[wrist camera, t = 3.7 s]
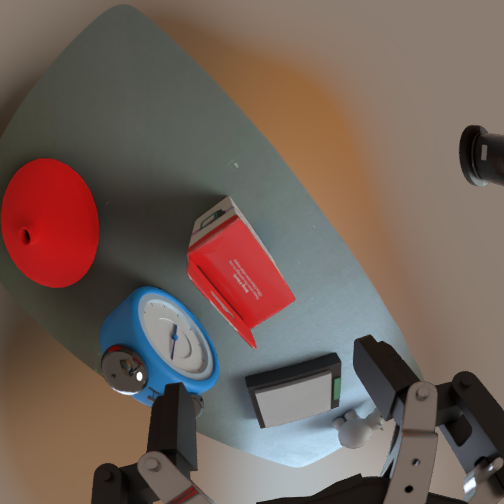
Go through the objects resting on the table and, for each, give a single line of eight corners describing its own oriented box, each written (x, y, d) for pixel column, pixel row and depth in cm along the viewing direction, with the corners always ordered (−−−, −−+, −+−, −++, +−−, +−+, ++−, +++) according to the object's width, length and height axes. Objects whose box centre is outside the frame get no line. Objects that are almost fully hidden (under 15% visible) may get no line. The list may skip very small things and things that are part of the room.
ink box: (270, 251, 33) (311, 320, 19) (236, 274, 33) (255, 356, 20) (228, 193, 30) (244, 227, 16) (192, 219, 30) (178, 274, 16)
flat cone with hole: (51, 295, 30) (28, 321, 24) (0, 201, 24) (-32, 213, 18) (131, 244, 30) (112, 268, 23) (72, 131, 24) (41, 128, 18)
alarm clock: (218, 332, 36) (226, 423, 22) (187, 355, 36) (183, 443, 22) (146, 266, 31) (109, 345, 17) (116, 295, 32) (75, 376, 18)
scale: (335, 352, 40) (343, 364, 37) (334, 398, 45) (340, 409, 42) (244, 376, 39) (247, 391, 36) (258, 419, 44) (261, 432, 41)
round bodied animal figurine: (382, 403, 50) (398, 429, 42) (337, 429, 51) (349, 457, 43) (376, 390, 47) (394, 418, 39) (327, 419, 48) (340, 450, 40)
